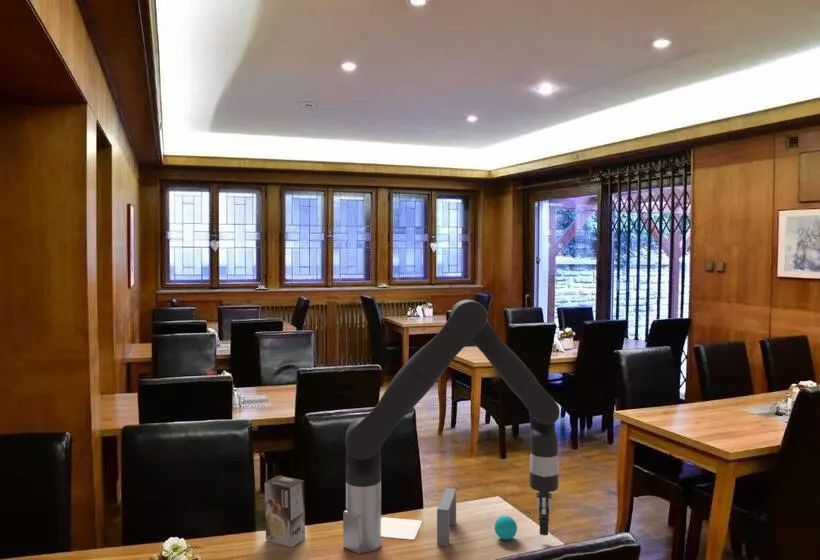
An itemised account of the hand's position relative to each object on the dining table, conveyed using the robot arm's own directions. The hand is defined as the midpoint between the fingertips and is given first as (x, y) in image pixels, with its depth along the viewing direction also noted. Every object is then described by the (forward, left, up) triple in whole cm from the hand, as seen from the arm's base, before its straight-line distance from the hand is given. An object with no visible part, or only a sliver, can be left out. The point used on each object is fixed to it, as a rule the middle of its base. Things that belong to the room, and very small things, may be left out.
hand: (543, 533), depth 166 cm
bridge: (-13, +23, -2) cm, 26 cm away
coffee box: (-45, +53, -2) cm, 69 cm away
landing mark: (-20, +35, -2) cm, 40 cm away
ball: (-5, +9, +1) cm, 10 cm away
